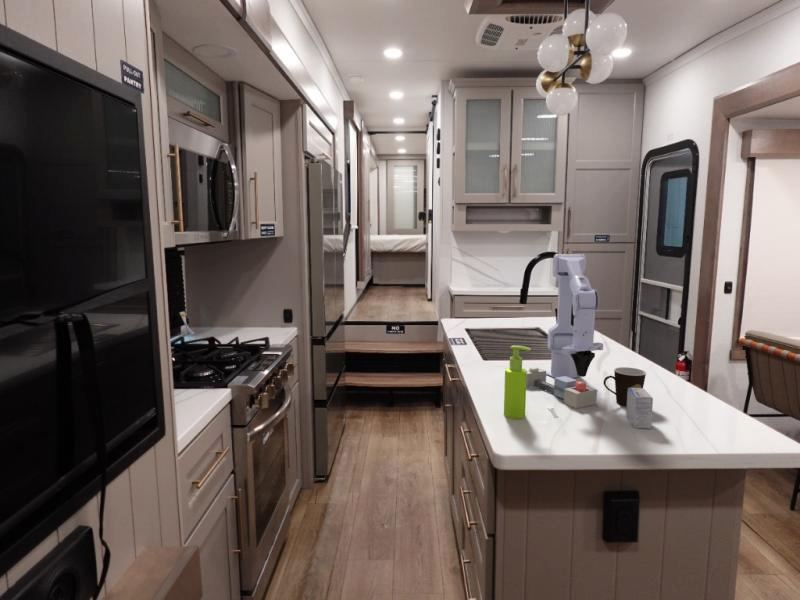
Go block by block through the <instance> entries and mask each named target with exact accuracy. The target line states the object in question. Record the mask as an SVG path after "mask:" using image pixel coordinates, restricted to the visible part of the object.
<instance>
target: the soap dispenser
mask: <svg viewBox="0 0 800 600" xmlns="http://www.w3.org/2000/svg"><path fill="white" fill-rule="evenodd" d="M509 348H510V349H511V350H512V356H510V357H509V367H506V368H505V369H504V393H503V394H504V396H503V397H504V398H503V404H504V405H503V415H504V416H505V417H506V418H509V419H514V420H515V419H519V420H520V419H523V418H525V417H526V401H527V400H526V399H527V397H526V396H527V387H526V373H527V371H528V370H527V369H525V368H523V357H521V356H520V351H521V350H522V351H525V352H530V351H531V350H532V348H530V347H527V346H524V345H515V344H514V345H511V346H510V347H509Z"/></svg>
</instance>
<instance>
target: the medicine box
mask: <svg viewBox="0 0 800 600" xmlns="http://www.w3.org/2000/svg"><path fill="white" fill-rule="evenodd" d="M653 399H654V398H653V396H651V395H650V393H648V391H647V390H646V389H645V388H643V389H642V388H628V392H627V407H626V413H625V415H626V418H627V420H628V421H629V423H630V424H631V425H632V427H633V428H634V429H645V430H646V429H649V430H650V429H652V425H653V424H652V423H653V421H652V420H653V403H654V400H653Z"/></svg>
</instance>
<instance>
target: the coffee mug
mask: <svg viewBox="0 0 800 600" xmlns="http://www.w3.org/2000/svg"><path fill="white" fill-rule="evenodd" d="M613 371H614V375H609V376H606V377H605V378H604V379H603V387H605V388H606V389H607V391H609V392H610V393H612V394H614V395H615V401H616V404H617V405H619V406H621V405H622V407H625V406H627V392H628V388H642V389H644V385H645V381H646V380H645V379H646V375H647V372H646V371H644V369H639V368H635V367H629V366H621V367H616V368H614V369H613ZM609 379H613V380H614V385H615V386H614V387H615V388H614V389H615V391H614V390H612V389H611V388H609V387H608V386H607V383H606V382H607V380H609Z"/></svg>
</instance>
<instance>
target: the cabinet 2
mask: <svg viewBox="0 0 800 600" xmlns="http://www.w3.org/2000/svg"><path fill="white" fill-rule="evenodd" d="M575 388H576V387H572V388H566V389H564V399H563V404H565V405H568V406H569V405H570V406H569V407H572V408H573V409H574V408H575V409H581V408H585V406H586V407H590V405H591V406H594V405H595V406H596V405H597V403H598V402H597V399H598V389H596V388H593V387H590V386H587V385H586V391H585V392H579V391H576V390H575Z"/></svg>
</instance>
